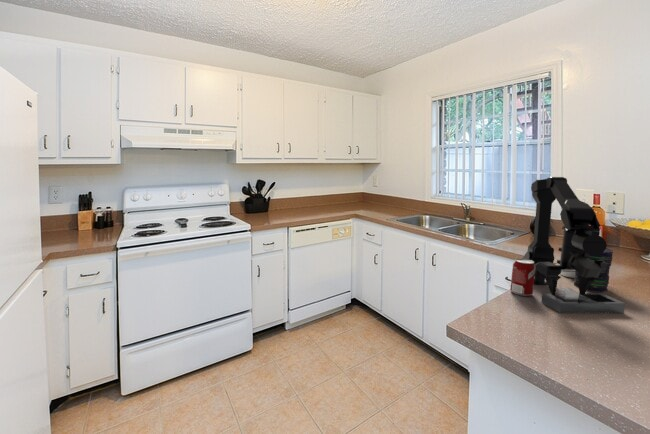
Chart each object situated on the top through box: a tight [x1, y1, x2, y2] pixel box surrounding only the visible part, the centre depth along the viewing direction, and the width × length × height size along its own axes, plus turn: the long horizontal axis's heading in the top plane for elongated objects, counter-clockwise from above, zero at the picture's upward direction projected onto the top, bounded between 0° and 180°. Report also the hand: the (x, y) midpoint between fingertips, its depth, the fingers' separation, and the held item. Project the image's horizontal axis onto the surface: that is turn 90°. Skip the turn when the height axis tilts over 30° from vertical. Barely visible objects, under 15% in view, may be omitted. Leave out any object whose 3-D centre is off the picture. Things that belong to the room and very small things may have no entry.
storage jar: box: [573, 247, 614, 293], centre depth 117 cm, size 10×10×15 cm
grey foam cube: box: [556, 287, 580, 302], centre depth 100 cm, size 4×4×5 cm
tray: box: [541, 292, 626, 314], centre depth 100 cm, size 8×20×3 cm, turn 91°
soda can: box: [509, 258, 536, 297], centre depth 111 cm, size 7×7×12 cm
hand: (567, 294), depth 100 cm, fingers open, 9 cm apart
